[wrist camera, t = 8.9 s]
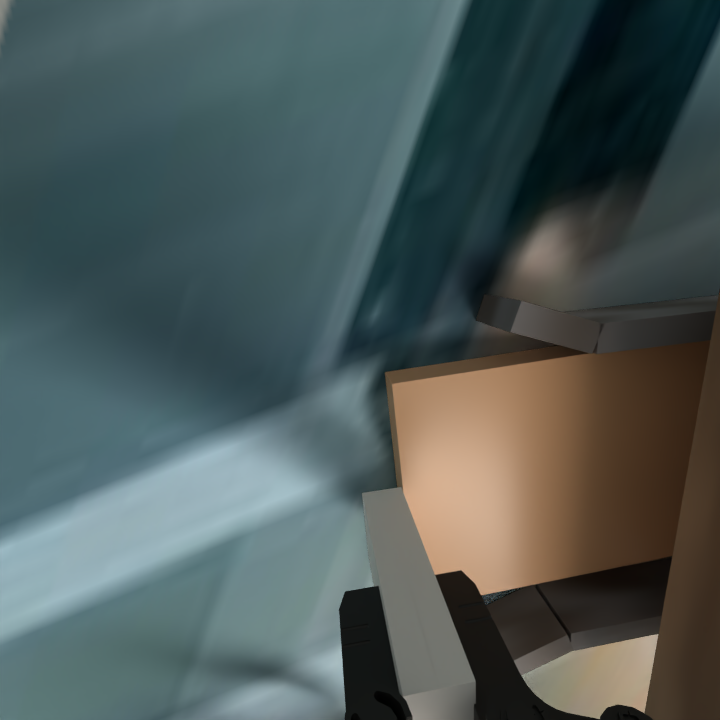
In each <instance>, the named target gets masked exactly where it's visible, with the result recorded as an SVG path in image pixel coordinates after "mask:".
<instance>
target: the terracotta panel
mask: <svg viewBox="0 0 720 720" xmlns="http://www.w3.org/2000/svg"><path fill="white" fill-rule="evenodd" d="M710 341H711V340H708V341H700V342H692V343H684V344H675V345H667V346H659V347H651V348H643V349H635V350H626V351H618V352H610V353H602V354H595V353H592V354H591V353H587V352H583V351H579V350H575V349H572V348H568V347H564V346H560V345H558V346H552V347H545V348H539V349H532V350H526V351H519V352H513V353H506V354H500V355H493V356H487V357H480V358H474V359H467V360H461V361H454V362H448V363H441V364H435V365H428V366H422V367H415V368H409V369H402V370H396V371H389V372H385V379H386V389H387V398H388V407H389V416H390V425H391V435H392V444H393V453H394V462H395V471H396V481H397V488H398V487H401V488H402V490H403V493H404V496H405V498H406V501H407V503H408V506H409V509H410V511H411V514H412V516H413V519H414V522H415V524H416V527H417V529H418V532H419V535H420V537H421V540H422V542H423V545H424V548H425V550H426V553H427V556H428V558H429V561H430V563H431V566H432V569H433V571H434V574H435V575H437V574H442V573H448V572H454V571H460V570H462V571H463V572H464V573H465V574H466V575H467V576H468V577H469V578H470V579H471V580H472V581H473V582H474V583H475V584H476V586H477V588H478V590H479V592H480V594H481V595H486V594H491V593H495V592H500V591H505V590H510V589H515V588H520V587H525V586H530V585H534V584H539V583H544V582H549V581H554V580H559V579H564V578H568V577H573V576H578V575H583V574H588V573H593V572H598V571H603V570H607V569H612V568H617V567H622V566H627V565H632V564H637V563H641V562H646V561H651V560H656V559H661V558H666V557H671V556H673V550H674V544H675V539H676V533H677V527H678V522H679V516H680V510H681V505H682V499H683V493H684V488H685V482H686V476H687V471H688V465H689V460H690V454H691V448H692V443H693V437H694V431H695V426H696V420H697V414H698V409H699V403H700V397H701V392H702V386H703V380H704V375H705V369H706V363H707V358H708V352H709V346H710Z"/></svg>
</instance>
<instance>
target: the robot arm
mask: <svg viewBox="0 0 720 720" xmlns="http://www.w3.org/2000/svg"><path fill="white" fill-rule="evenodd" d="M362 498H363V508H364V518H365V528H366V538H367V549H368V556H369V561H370V567H371V573H372V578H373V584H374V587H369V588H363V589H357V590H352V591H346V592H345V594H344V596H343V599H342V602H341V605H340V608H339V614H340V629H341V644H342V659H343V674H344V689H345V704H346V713H345V720H653V719H652V718H651V717H650V716H648V715H646V714H644V713H643V712H641V711H639V710H637V709H635V708H633V707H628V706H623V705H615V706H611V707H608V708H606V710H605V711H604V712H603V714H602V715H601V716H600V719H595V718H590V717H585V716H580V715H575V714H570V713H566V712H563V711H560V710H557V709H555V708H553V707H551V706H549V705H548V704H546V703H545V702H543V701H542V700H541V699H540V698H538V697H537V696H536V695H535V694H534V693H533V692H532V691H531V689H530V688H529V687H528V686H527V684H526V683H525V681H524V680H523V678H522V676H521V674H520V672H519V670H518V668H517V666H516V664H515V662H514V660H513V658H512V656H511V654H510V652H509V650H508V648H507V646H506V644H505V642H504V640H503V638H502V636H501V634H500V632H499V630H498V628H497V626H496V624H495V622H494V620H493V619H492V617H491V614H490V612H489V610H488V608H487V606H486V605H485V604H484V600H483V598H482V596H481V594H480V592H479V590H478V588H477V586H476V584H475V583H474V582H473V581H472V580H471V579H470V578H469V577H468V576H467V575H466V574H465V573H464V572H463V571H462V570H460V571H454V572H448V573H442V574H437V575H435V574H434V571H433V569H432V566H431V563H430V561H429V558H428V556H427V553H426V550H425V548H424V545H423V542H422V540H421V537H420V535H419V532H418V529H417V527H416V524H415V522H414V519H413V516H412V514H411V511H410V509H409V506H408V503H407V501H406V498H405V496H404V493H403V490H402V488H401V487H398V488H391V489H385V490H378V491H371V492H365V493H362Z"/></svg>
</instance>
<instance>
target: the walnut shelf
mask: <svg viewBox="0 0 720 720" xmlns="http://www.w3.org/2000/svg"><path fill="white" fill-rule="evenodd" d="M476 321H479V322H482V323H485V324H488V325H491V326H494V327H496V328H499V329H502V330H505V331H508V332H511V333H515V334H519V335H522V336H526V337H530V338H534V339H538V340H541V341H545V342H549V343H553V344H556V345H560V346H564V347H568V348H572V349H575V350H579V351H583V352H587V353H591V354H592V353H595V354H602V353H610V352H618V351H626V350H635V349H643V348H651V347H659V346H667V345H675V344H684V343H692V342H700V341H708V340H711V341H710V346H709V352H708V358H707V363H706V369H705V375H704V380H703V386H702V392H701V397H700V403H699V409H698V414H697V420H696V426H695V431H694V437H693V443H692V448H691V454H690V460H689V465H688V471H687V476H686V482H685V488H684V493H683V499H682V505H681V510H680V516H679V522H678V527H677V533H676V539H675V544H674V550H673V556H672V558H666V559H661V560H655V561H650V562H644V563H639V564H633V565H628V566H622V567H617V568H612V569H607V570H603V571H598V572H593V573H588V574H583V575H578V576H573V577H568V578H564V579H559V580H554V581H549V582H544V583H539V584H536V588H535V586H534V585H530V586H526V587H524V588H522V589H519V590H517V591H515V592H513V593H511V594H509V595H507V596H505V597H503V598H501V599H499V600H497V601H494V602H492V603H490V604H488V605H486V606H487V608H488V610H489V612H490V614H491V617H492V619H493V620H494V622H495V624H496V626H497V628H498V630H499V632H500V634H501V636H502V638H503V640H504V642H505V644H506V646H507V648H508V650H509V652H510V654H511V656H512V658H513V660H514V662H515V664H516V666H517V668H518V670H519V672H520V674H521V675H523V674H525V673H527V672H529V671H531V670H533V669H535V668H537V667H539V666H542V665H544V664H546V663H548V662H550V661H552V660H554V659H556V658H558V657H560V656H562V655H565V654H567V653H569V652H571V651H575V650H580V649H585V648H590V647H595V646H600V645H605V644H610V643H614V642H619V641H624V640H629V639H634V638H639V637H644V636H649V635H654V634H659V635H658V640H657V646H656V652H655V657H654V663H653V669H652V674H651V680H650V686H649V691H648V697H647V703H646V708H645V714H646V715H648V716H650V717H651V718H652V719H653V720H720V290H719V295H715V296H705V297H696V298H687V299H678V300H669V301H660V302H651V303H642V304H633V305H624V306H614V307H605V308H596V309H587V310H578V311H569V312H560V311H556V310H553V309H549V308H546V307H542V306H539V305H535V304H531V303H528V302H524V301H520V300H515V299H509V298H503V297H497V296H491V295H486V294H484V297H483V300H482V303H481V306H480V309H479V312H478V315H477V318H476Z"/></svg>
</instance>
